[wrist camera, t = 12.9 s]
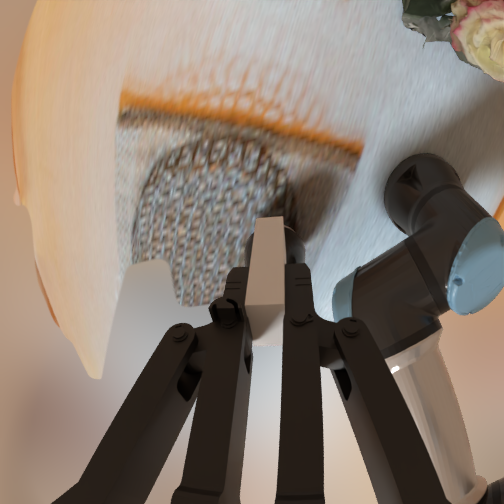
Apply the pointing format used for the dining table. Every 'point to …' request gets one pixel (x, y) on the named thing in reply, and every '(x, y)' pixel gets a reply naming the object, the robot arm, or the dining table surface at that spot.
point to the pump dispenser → (292, 244)
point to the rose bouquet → (463, 29)
